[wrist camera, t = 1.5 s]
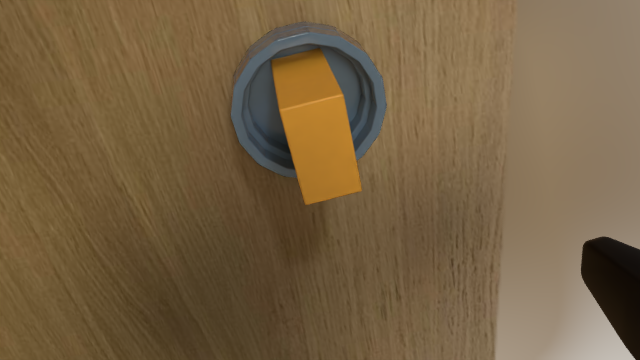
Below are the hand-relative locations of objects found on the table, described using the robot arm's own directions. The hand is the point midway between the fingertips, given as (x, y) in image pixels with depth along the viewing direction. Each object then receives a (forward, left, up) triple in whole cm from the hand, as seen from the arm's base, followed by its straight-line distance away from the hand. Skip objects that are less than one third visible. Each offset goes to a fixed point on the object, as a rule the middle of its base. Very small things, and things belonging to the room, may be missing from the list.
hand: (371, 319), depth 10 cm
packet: (0, 0, -12) cm, 12 cm away
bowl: (0, 0, -12) cm, 12 cm away
